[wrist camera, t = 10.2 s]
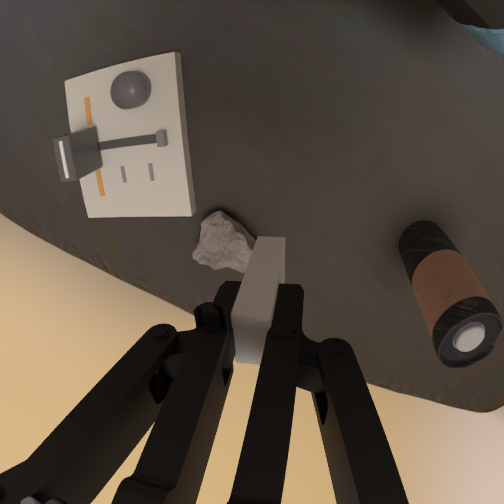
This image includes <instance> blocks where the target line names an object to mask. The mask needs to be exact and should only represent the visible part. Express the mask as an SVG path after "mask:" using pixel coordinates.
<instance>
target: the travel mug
mask: <svg viewBox="0 0 504 504" xmlns="http://www.w3.org/2000/svg"><path fill="white" fill-rule="evenodd" d="M399 250H400V254H401V257H402V260H403V263H404V266H405V268H406V271H407V274H408V277H409V280H410V282H411V285H412V288H413V291H414V294H415V296H416V299H417V301H418V304H419V306H420V309H421V311H422V314H423V317H424V319H425V322H426V325H427V327H428V330H429V333H430V336H431V339H432V341H433V344H434V347H435V350H436V353H437V356H438V359H439V361H440V362H441V363H442V364H443V365H444V366H446V367H448V368H454V369H459V368H465V367H468V366H471V365H474V364H476V363H478V362H479V361H481V360H483V359H484V358H485V357H487V356H488V355H489V354H490V353H491V352H492V351H493V350H494V347H495V342H496V340H497V338H498V336H499V334H500V332H501V331H503V330H504V326H503V322H502V319H501V317H500V315H499V313H498V312H497V310H496V308H495V306H494V305H493V303H492V301H491V300H490V298H489V296H488V295H487V293H486V291H485V290H484V288H483V286H482V285H481V283H480V282H479V280H478V278H477V277H476V275H475V274H474V272H473V271H472V269H471V268H470V266H469V265H468V263H467V262H466V260H465V259H464V257H463V256H462V255H461V253H460V252H459V251H458V249H457V248H456V247H455V246H454V244H453V243H452V242H451V241H450V240H449V238H448V237H447V236H446V235H445V233H444V232H443V231H442V230H441V229H440V228H439V227H438V226H437V225H436V224H434V223H432V222H429V221H420V222H417V223H414V224H412V225H411V226H409V227H408V228H407V229H406V230H405V231H404V233H403V234H402V236H401V239H400V243H399Z"/></svg>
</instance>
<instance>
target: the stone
mask: <svg viewBox="0 0 504 504" xmlns="http://www.w3.org/2000/svg"><path fill="white" fill-rule="evenodd" d="M255 242H256V240H255V239H254V238H253V237H252V236H251V235H250V234H249V233H248V231H247V230H246V229H245V228H244V227H243V225H242V224H241V223H240V222H237V221H235V220H233V219H232V218H230V217H229V216H227V215H226V214H225V213H224V212H223V211H221V210H220V211H217V212H214V213H212V214H210V215H209V216H208V217H207V218H205V219H204V221H203V222H202V223H201V232H200V241H199V243H198V244H197V246H196V249H195V251H194V252H193V259H194V260H197V261H198V262H199V263H200V264H206V265H209V266H211V267H212V268H213V269H221V268H224V267H230V268H232V269H235V270H237V271H238V272H243V273H245V271H246V269H247V266H248V263H249V260H250V257H251V254H252V251H253V248H254V245H255Z"/></svg>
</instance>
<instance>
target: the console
mask: <svg viewBox="0 0 504 504" xmlns="http://www.w3.org/2000/svg"><path fill="white" fill-rule="evenodd" d="M65 90H66V99H67V107H68V115H69V122H70V129H71V133H72V132H75V131H78V130H81V129H86V128H91V127H96V134H97V141H98V147H99V153H100V159H101V164H102V167H101V168H99V169H97V170H95V171H93V172H91V173H90V174H88V175H86V176H84V177H82V178H80V183H81V188H82V193H83V197H84V201H85V205H86V210H87V214H88V218H93V217H148V216H193V214H194V213H195V212H196V211H197V210H196V202H195V194H194V186H193V178H192V170H191V161H190V152H189V143H188V133H187V123H186V112H185V102H184V90H183V78H182V65H181V53H178V52H171V53H165V54H160V55H156V56H151V57H146V58H142V59H138V60H134V61H129V62H126V63H122V64H118V65H114V66H111V67H107V68H104V69H100V70H97V71H94V72H90V73H87V74H84V75H81V76H78V77H75V78H72V79H69V80H67V81H65Z"/></svg>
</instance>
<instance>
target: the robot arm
mask: <svg viewBox="0 0 504 504" xmlns="http://www.w3.org/2000/svg"><path fill="white" fill-rule="evenodd" d="M434 1H435V2H436V3H437V4H438V5H439V6H441V7H442V8H443V9H444V10H445V11H446V12H447V13H448V14H449V17H450V18H451V19H452V20H453V21H454V22H455V23H456V24H458V25H460V26H461V27H463V28H464V29H466V30H467V31H468V32H469V33H470V34H471V35H472V36H473V37H474V38H475V39H476V40H477V41H478V42H479V43H480V44H481V45H482V46H484V47H485V48H487V49H489V50H492V51H493V52H496V53H498V54H502V55H504V0H434ZM284 280H285V237H264V236H258V237H257V240H256V242H255V245H254V248H253V251H252V254H251V257H250V260H249V263H248V266H247V269H246V271H245V274H244V277H243V280H242V282H238V281H226V282H224V283H223V284H222V285H221V286H220V287H219V290H218V292H217V295H216V296H215V299H214V301H213V302H206V303H203V304H200V305H199V306H197V307H196V308H195V309H194V316H195V321H196V328H195V329H193V330H189V331H181V332H177V331H176V329H175V327H174V326H172V325H170V324H158V325H155V326H153V327H151V328H150V329H149V330H148V331H147V332H146V333H145V334H144V335H143V336H142V337H141V338H140V339H139V340H138V341H137V342H136V343H135V344H134V345H133V346H132V347H131V348H130V350H128V351H127V353H126V354H125V355H124V356H123V357H122V358H121V359H120V360H119V361H118V362H117V363H116V364H115V365H114V366H113V367H112V368H111V369H110V370H109V372H108V373H107V374H106V375H105V376H104V377H103V378H102V379H101V380H100V381H99V382H98V383H97V384H96V385H95V386H94V387H93V388H92V390H91V391H90V392H89V393H88V394H87V395H86V396H85V397H84V398H83V399H82V400H81V401H80V402H79V403H78V405H77V406H76V407H75V408H74V409H73V410H72V411H71V412H70V413H69V414H68V415H67V416H66V417H65V419H64V420H63V421H62V422H61V423H60V424H59V425H58V426H57V427H56V428H55V429H54V431H52V433H51V434H50V435H49V436H48V437H47V438H46V439H45V440H44V441H43V442H42V444H41V445H40V446H39V447H38V448H37V449H36V450H35V451H34V452H33V453H32V455H31V456H30V457H29V458H28V459H27V460H25V461H24V462H22V463H20V464H18V465H16V466H14V467H12V468H11V469H9V470H7V471H5V472H3V473H1V474H0V504H90V503H91V502H92V501H93V500H94V499H95V498H96V496H97V495H98V494H99V493H100V491H101V490H102V489H103V487H104V486H105V485H106V484H107V482H108V481H109V480H110V479H111V477H112V476H113V475H114V474H115V472H116V471H117V470H118V469H119V467H120V466H121V465H122V463H123V462H124V461H125V460H126V458H127V457H128V456H129V454H130V453H131V452H132V451H133V449H134V448H135V447H136V445H137V444H138V443H139V441H140V440H141V439H142V438H143V436H144V435H145V434H146V432H147V431H148V430H149V428H150V427H151V426H152V424H153V423H154V422H155V423H154V426H153V428H152V430H151V433H150V435H149V437H148V440H147V442H146V445H145V447H144V449H143V452H142V454H141V456H140V459H139V461H138V464H137V466H136V469H135V471H134V473H133V474H132V475H131V476H130V477H127V478H124V479H123V480H122V481H121V483H120V485H119V487H118V489H117V491H116V494H115V496H114V498H113V501H112V503H111V504H196V501H197V497H198V494H199V491H200V487H201V484H202V480H203V477H204V473H205V470H206V466H207V463H208V460H209V456H210V452H211V449H212V446H213V442H214V439H215V435H216V432H217V428H218V424H219V421H220V418H221V414H222V410H223V407H224V403H225V400H226V396H227V392H228V389H229V386H230V382H231V378H232V375H233V360H234V357H235V359H236V362H240V363H249V364H259V365H260V369H259V374H258V378H257V383H256V387H255V392H254V397H253V401H252V406H251V410H250V415H249V419H248V424H247V429H246V432H245V437H244V441H243V446H242V450H241V454H240V459H239V463H238V467H237V472H236V475H235V480H234V484H233V488H232V492H231V496H230V499H229V501H228V502H227V504H281V499H282V493H283V486H284V480H285V473H286V466H287V459H288V452H289V444H290V436H291V428H292V420H293V411H294V403H295V393H296V387H299V388H302V389H304V390H307V391H310V392H311V394H312V398H313V402H314V407H315V410H316V414H317V419H318V423H319V428H320V432H321V436H322V440H323V445H324V449H325V453H326V458H327V462H328V467H329V471H330V475H331V480H332V484H333V489H334V493H335V498H336V503H337V504H409V503H408V500H407V497H406V493H405V490H404V487H403V484H402V481H401V478H400V475H399V472H398V469H397V466H396V463H395V460H394V458H393V455H392V452H391V449H390V446H389V443H388V441H387V438H386V435H385V432H384V429H383V427H382V424H381V421H380V418H379V416H378V413H377V410H376V408H375V405H374V402H373V400H372V397H371V395H370V392H369V389H368V387H367V384H366V382H365V379H364V377H363V374H362V371H361V369H360V366H359V364H358V361H357V359H356V356H355V354H354V352H353V349H352V347H351V346H350V344H349V343H348V342H346V341H345V340H343V339H339V338H329V339H325V340H324V341H322V342H321V343H319V342H315V341H313V340H310V339H309V338H307V337H306V336H305V335H304V333H303V331H302V315H303V300H304V290H303V289H302V287H301V285H300V284H284Z"/></svg>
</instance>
